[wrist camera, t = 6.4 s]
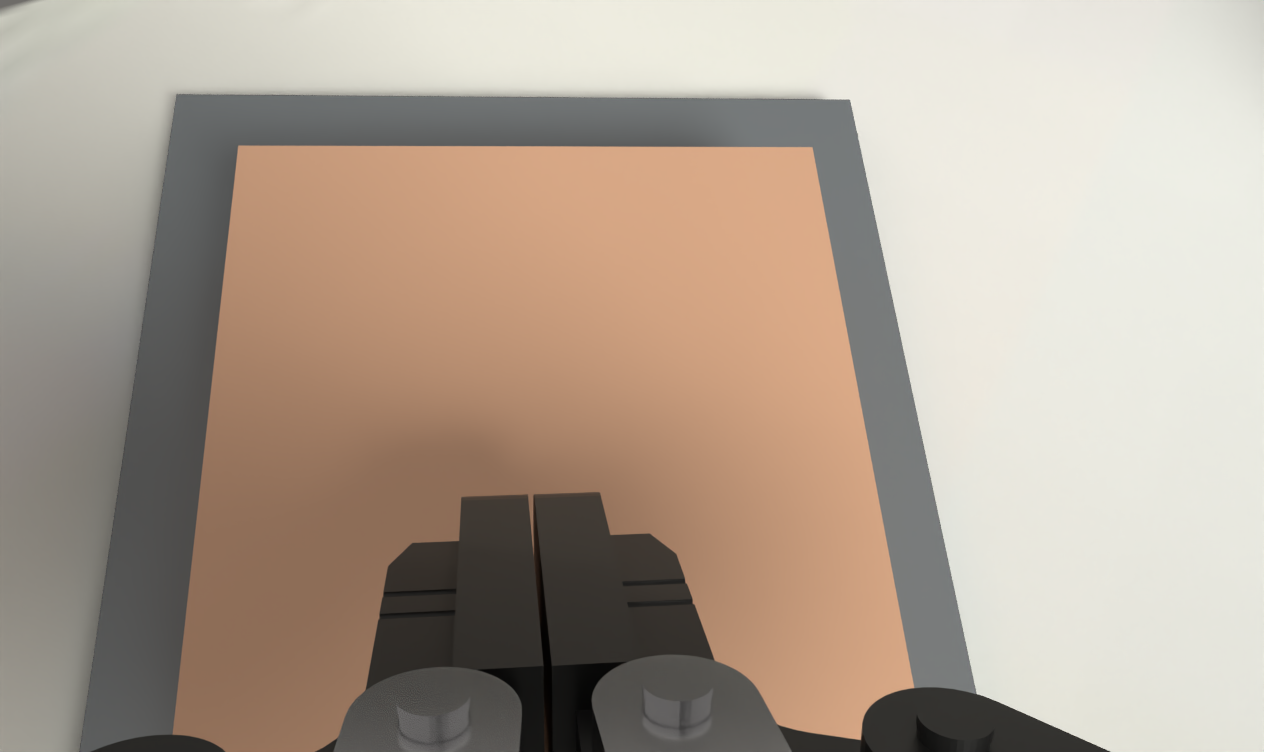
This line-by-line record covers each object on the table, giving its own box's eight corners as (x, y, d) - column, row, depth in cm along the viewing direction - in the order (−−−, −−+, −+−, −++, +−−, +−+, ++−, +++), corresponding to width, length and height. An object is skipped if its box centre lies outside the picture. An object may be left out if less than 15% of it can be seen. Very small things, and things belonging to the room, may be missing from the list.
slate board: (186, 122, 22) (176, 94, 21) (839, 126, 23) (850, 99, 23) (-46, 1783, 12) (-81, 1834, 11) (1140, 1596, 13) (1176, 1630, 12)
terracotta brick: (935, 798, 14) (812, 147, 18) (159, 850, 13) (238, 145, 17) (868, 826, 16) (776, 247, 21) (218, 872, 15) (272, 251, 20)
